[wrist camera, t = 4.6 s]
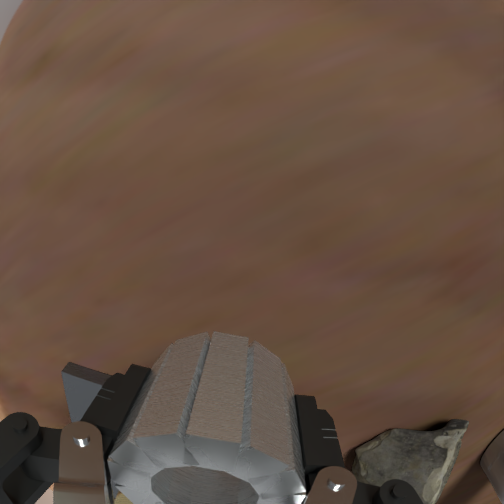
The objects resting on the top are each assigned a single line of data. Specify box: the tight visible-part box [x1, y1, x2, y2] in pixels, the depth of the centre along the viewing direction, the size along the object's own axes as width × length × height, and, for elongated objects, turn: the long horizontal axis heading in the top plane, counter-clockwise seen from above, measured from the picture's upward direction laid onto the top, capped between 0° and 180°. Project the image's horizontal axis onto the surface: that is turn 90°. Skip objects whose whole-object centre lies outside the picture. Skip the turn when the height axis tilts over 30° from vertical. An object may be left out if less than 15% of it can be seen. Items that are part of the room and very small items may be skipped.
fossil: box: [352, 419, 469, 504], centre depth 18 cm, size 11×9×10 cm
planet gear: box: [107, 331, 306, 504], centre depth 9 cm, size 6×6×5 cm
